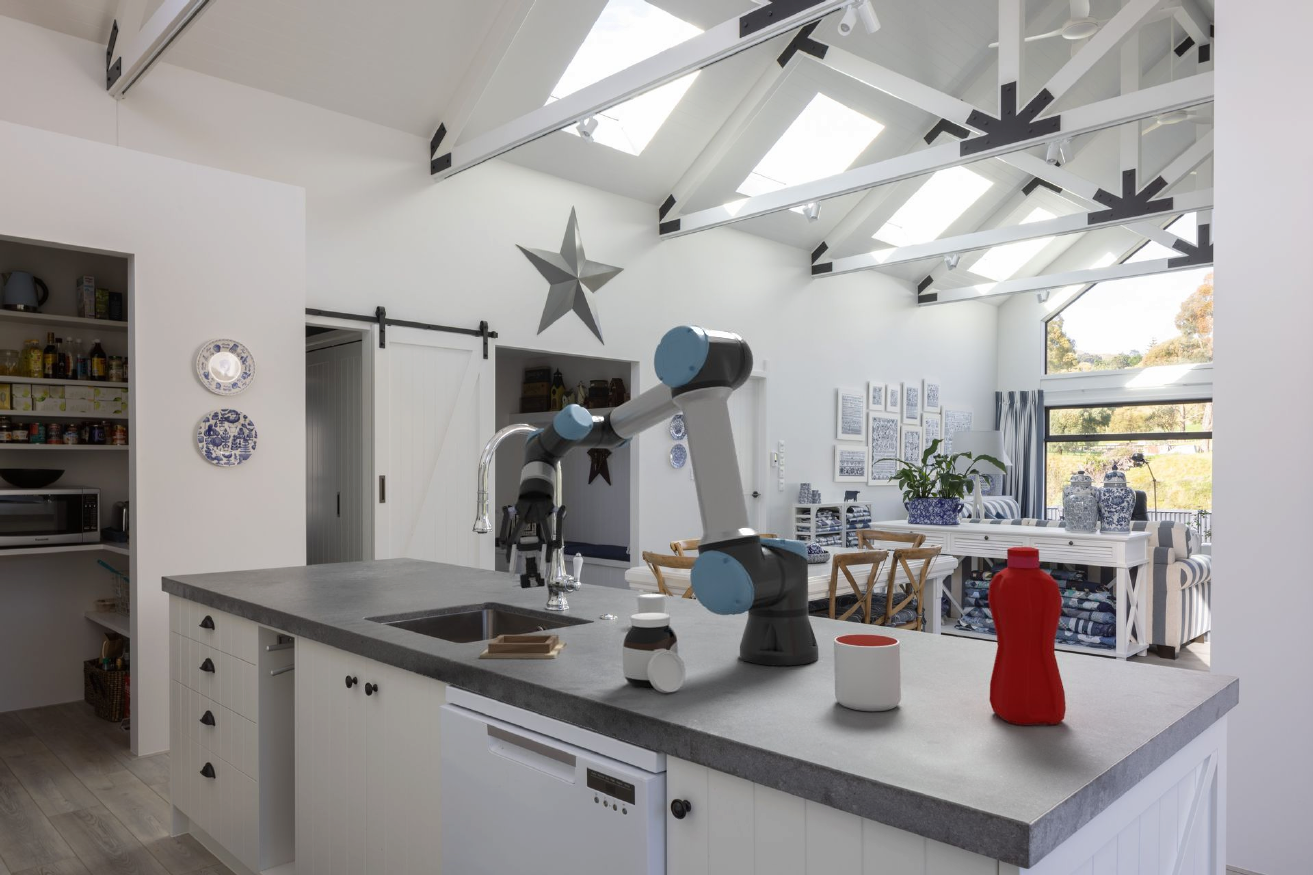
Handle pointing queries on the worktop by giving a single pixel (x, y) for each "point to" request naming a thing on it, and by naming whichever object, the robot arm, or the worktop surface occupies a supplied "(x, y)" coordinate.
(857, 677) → the cup
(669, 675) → the spread jar
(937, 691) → the worktop surface
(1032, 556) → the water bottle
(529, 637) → the socket plate
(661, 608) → the white cylinder
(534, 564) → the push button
